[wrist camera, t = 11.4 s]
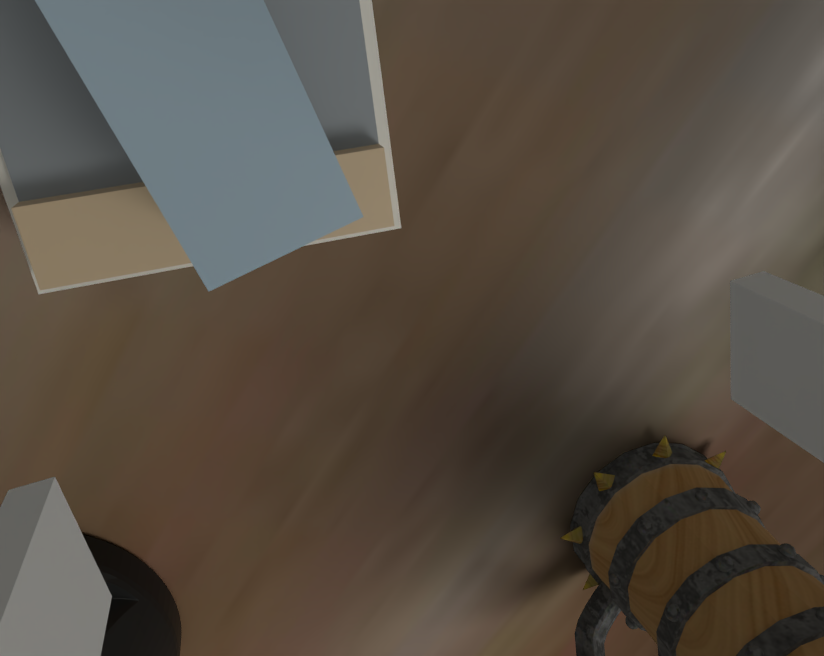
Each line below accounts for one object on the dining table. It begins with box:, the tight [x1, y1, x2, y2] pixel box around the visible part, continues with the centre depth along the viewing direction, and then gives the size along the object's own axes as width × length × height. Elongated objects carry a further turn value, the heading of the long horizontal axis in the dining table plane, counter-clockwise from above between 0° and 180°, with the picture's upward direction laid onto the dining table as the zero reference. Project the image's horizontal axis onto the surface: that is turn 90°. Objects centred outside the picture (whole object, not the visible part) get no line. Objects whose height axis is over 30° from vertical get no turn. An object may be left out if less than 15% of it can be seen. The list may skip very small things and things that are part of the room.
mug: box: [560, 435, 824, 656], centre depth 37 cm, size 13×17×20 cm
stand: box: [0, 0, 401, 294], centre depth 26 cm, size 14×18×7 cm
